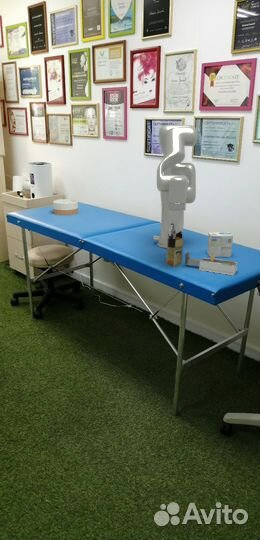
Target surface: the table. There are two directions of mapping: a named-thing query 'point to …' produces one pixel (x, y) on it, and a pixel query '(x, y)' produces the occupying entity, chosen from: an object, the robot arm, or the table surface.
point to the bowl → (65, 207)
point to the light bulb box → (220, 244)
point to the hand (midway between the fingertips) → (175, 244)
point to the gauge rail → (219, 266)
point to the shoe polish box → (175, 253)
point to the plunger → (196, 260)
